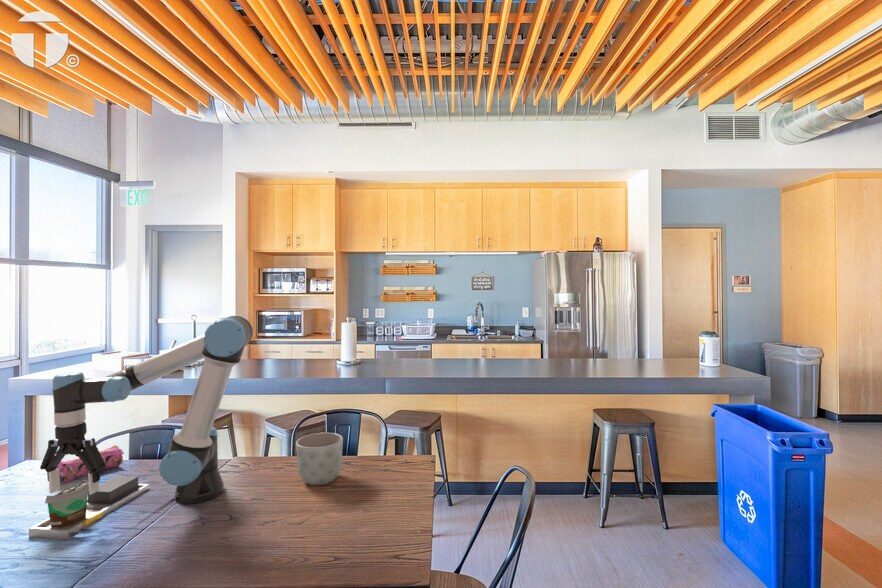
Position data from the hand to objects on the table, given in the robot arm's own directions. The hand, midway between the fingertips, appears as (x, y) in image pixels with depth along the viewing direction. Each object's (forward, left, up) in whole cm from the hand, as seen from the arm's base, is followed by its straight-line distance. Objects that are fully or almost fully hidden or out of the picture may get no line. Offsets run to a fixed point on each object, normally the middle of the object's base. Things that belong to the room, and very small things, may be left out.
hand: (74, 492), depth 142 cm
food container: (0, 0, -9) cm, 9 cm away
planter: (-64, -38, -10) cm, 75 cm away
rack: (0, -7, -10) cm, 12 cm away
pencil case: (+28, -34, -10) cm, 45 cm away
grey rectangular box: (0, -15, -9) cm, 17 cm away
